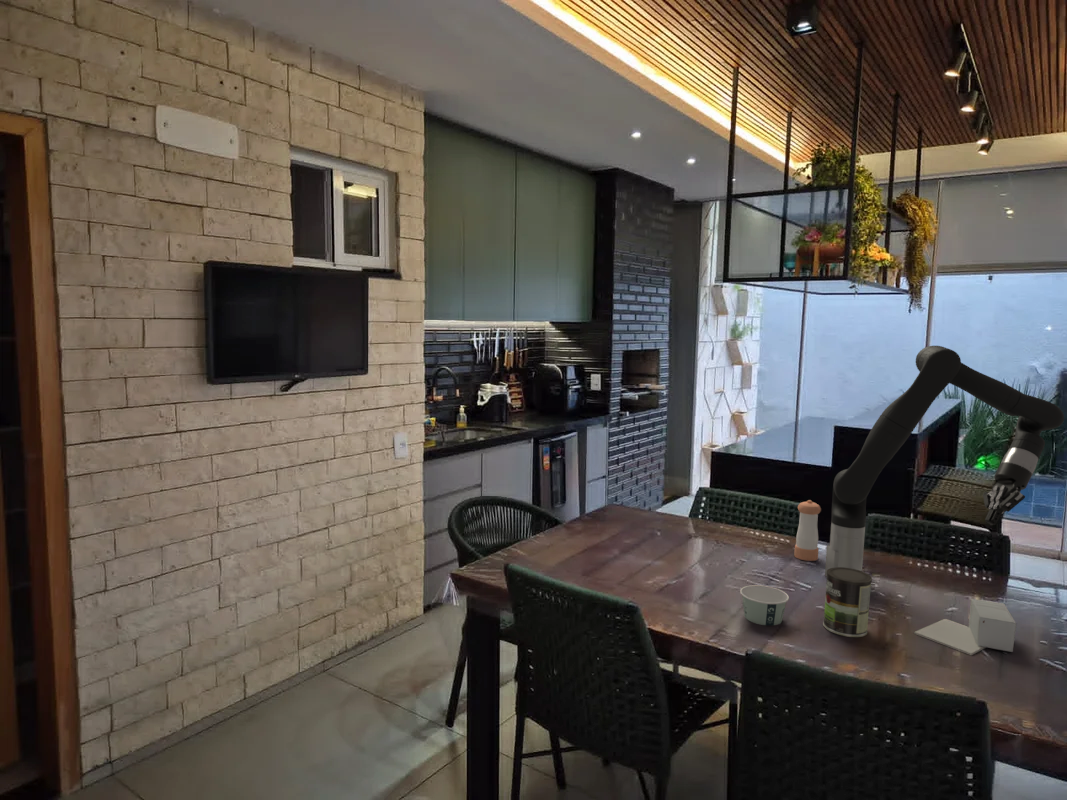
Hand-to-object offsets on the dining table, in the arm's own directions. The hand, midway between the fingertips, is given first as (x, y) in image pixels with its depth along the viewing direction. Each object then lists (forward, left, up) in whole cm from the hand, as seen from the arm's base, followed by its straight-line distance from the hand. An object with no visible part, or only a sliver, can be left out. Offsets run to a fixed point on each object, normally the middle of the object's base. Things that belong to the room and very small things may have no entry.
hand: (989, 523), depth 183 cm
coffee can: (-43, -15, -24) cm, 51 cm away
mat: (-17, -18, -24) cm, 34 cm away
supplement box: (-8, -14, -20) cm, 25 cm away
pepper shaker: (-33, +39, -24) cm, 56 cm away
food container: (-62, -10, -24) cm, 67 cm away
